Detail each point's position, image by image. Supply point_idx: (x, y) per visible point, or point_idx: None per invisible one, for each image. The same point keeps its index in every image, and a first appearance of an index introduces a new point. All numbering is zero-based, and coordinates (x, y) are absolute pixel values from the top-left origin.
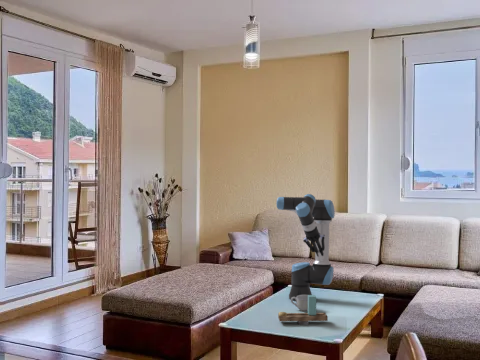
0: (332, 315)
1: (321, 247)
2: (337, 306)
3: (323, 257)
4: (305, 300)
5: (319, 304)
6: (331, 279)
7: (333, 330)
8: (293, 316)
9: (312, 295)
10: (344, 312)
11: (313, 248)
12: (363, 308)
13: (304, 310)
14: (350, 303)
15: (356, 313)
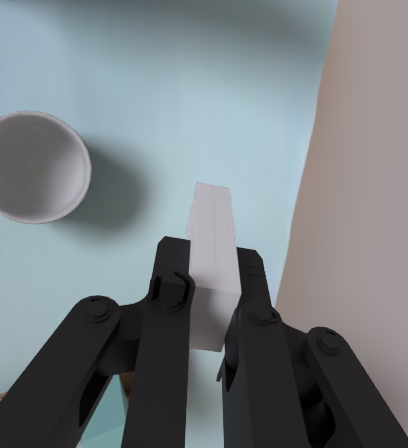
0: (181, 234)
1: (285, 356)
2: (194, 71)
3: (229, 198)
4: (43, 223)
5: (103, 43)
6: None
7: (198, 439)
8: None
9: (112, 441)
10: (228, 172)
11: (99, 345)
12: (301, 88)
13: (42, 204)
14: (249, 3)
15: (275, 177)
